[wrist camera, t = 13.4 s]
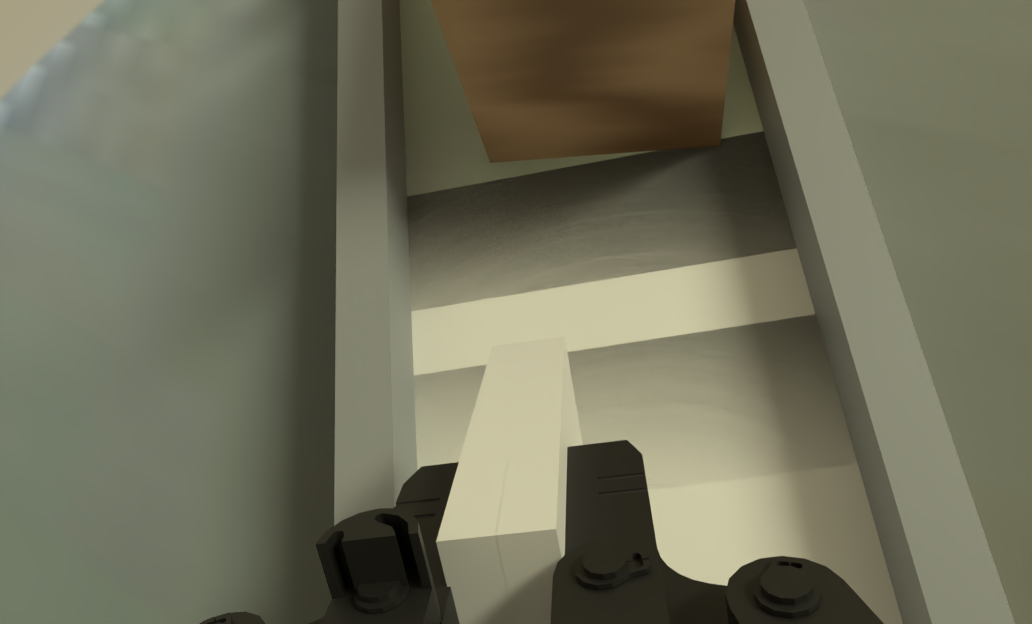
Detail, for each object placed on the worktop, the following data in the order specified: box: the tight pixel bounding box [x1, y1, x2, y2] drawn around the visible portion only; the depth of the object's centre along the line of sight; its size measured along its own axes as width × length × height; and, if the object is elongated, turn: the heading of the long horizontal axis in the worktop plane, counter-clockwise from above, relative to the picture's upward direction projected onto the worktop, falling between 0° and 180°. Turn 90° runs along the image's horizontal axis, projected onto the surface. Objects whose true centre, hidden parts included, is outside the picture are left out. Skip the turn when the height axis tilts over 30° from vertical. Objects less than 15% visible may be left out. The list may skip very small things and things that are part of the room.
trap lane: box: [334, 0, 1015, 624], centre depth 20 cm, size 14×36×5 cm, turn 5°
